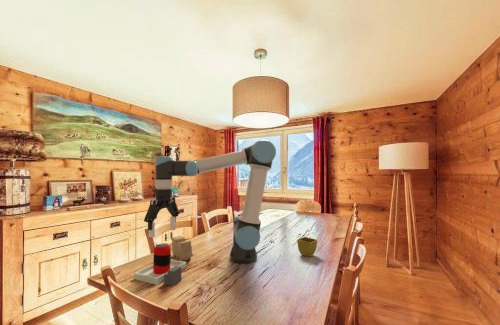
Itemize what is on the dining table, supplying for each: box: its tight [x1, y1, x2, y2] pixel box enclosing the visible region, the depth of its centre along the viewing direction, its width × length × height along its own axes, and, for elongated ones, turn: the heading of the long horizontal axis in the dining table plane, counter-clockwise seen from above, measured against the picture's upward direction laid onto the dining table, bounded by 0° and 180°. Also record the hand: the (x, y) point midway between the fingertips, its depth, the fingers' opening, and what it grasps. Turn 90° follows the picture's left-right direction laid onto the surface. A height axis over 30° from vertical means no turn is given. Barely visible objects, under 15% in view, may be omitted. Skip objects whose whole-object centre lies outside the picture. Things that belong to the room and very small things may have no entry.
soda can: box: [152, 242, 172, 274], centre depth 107 cm, size 8×8×12 cm
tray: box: [133, 258, 187, 286], centre depth 107 cm, size 13×19×2 cm
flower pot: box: [296, 236, 318, 258], centre depth 131 cm, size 9×9×9 cm
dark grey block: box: [163, 266, 182, 287], centre depth 98 cm, size 5×5×6 cm
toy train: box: [171, 235, 194, 262], centre depth 126 cm, size 6×17×10 cm, turn 39°
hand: (162, 233), depth 108 cm, fingers open, 13 cm apart
